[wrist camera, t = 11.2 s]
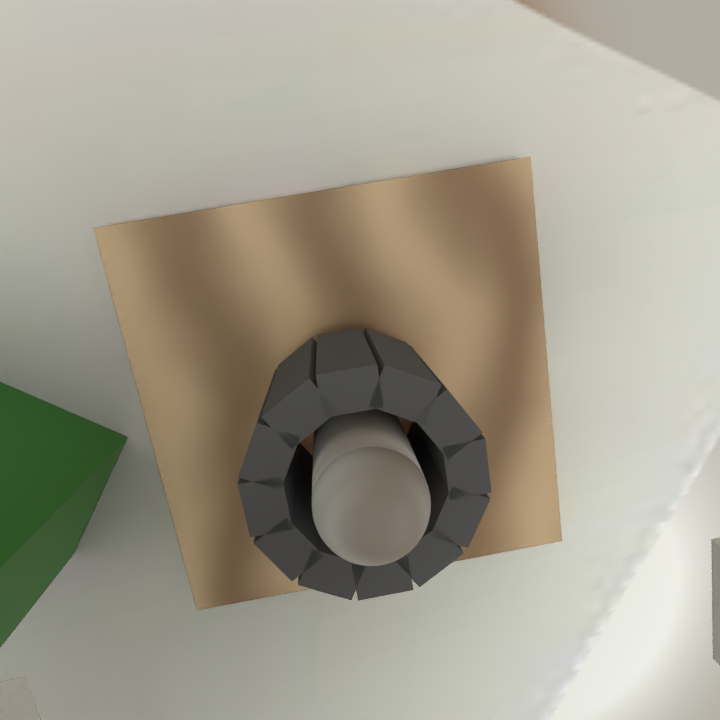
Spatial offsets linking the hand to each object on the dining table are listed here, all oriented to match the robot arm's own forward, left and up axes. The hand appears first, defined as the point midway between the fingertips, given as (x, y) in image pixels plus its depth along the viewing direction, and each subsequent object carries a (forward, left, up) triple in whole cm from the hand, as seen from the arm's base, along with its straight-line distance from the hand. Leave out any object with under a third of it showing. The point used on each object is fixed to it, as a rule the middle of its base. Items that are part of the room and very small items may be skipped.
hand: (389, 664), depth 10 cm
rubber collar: (0, 0, -14) cm, 14 cm away
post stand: (0, 0, -18) cm, 18 cm away
